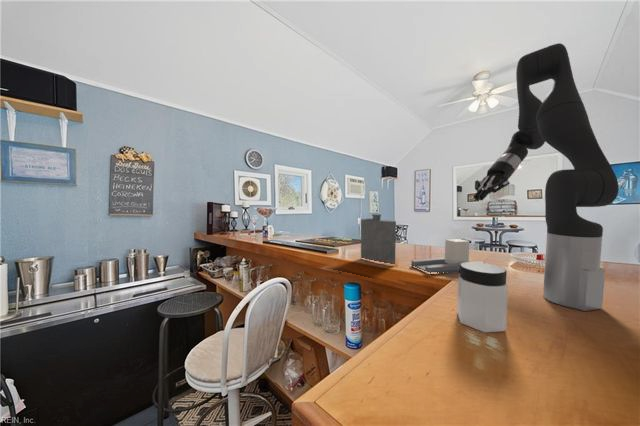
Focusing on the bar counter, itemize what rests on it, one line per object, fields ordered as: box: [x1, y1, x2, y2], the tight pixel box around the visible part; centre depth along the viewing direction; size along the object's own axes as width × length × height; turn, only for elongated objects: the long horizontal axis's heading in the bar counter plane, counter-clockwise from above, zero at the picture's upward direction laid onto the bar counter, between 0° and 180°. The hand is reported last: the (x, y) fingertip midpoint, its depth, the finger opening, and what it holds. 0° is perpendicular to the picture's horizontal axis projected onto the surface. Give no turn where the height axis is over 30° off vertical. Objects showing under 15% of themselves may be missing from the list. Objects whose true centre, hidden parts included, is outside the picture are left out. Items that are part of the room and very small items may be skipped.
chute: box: [410, 257, 486, 274], centre depth 86 cm, size 10×24×2 cm, turn 103°
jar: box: [456, 261, 509, 333], centre depth 49 cm, size 9×8×12 cm
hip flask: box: [360, 213, 397, 265], centre depth 94 cm, size 16×4×20 cm, turn 42°
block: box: [444, 238, 470, 264], centre depth 87 cm, size 5×6×9 cm
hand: (477, 198), depth 89 cm, fingers closed
